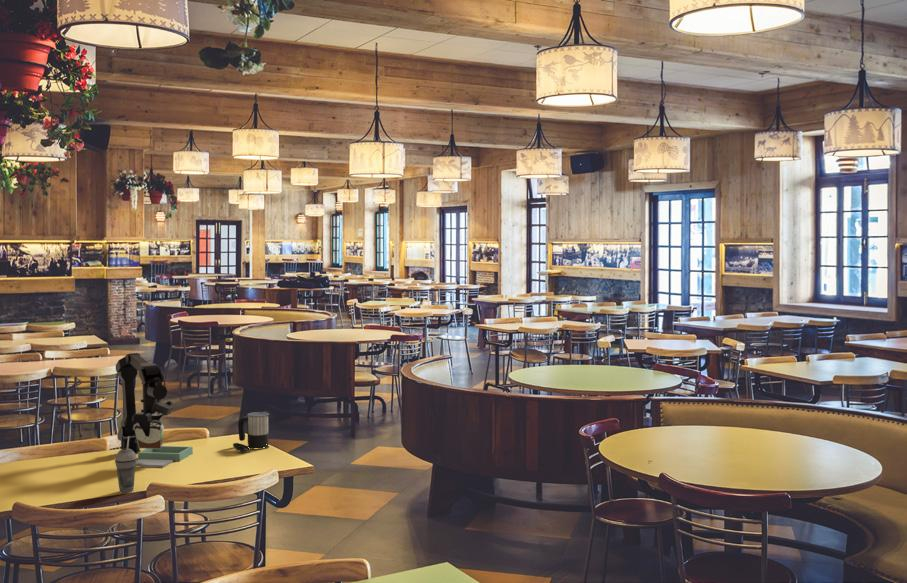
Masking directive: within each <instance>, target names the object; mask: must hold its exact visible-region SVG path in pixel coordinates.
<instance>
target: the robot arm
mask: <svg viewBox="0 0 907 583" xmlns="http://www.w3.org/2000/svg"><path fill="white" fill-rule="evenodd" d="M115 371H116V374H117V375H116V376H117V377H118V378H119V380H120V381H121V385H122V386H121V387H122V388H121V390H122V400H123V415H124V416H123V417H122V419H121V421H120V427H119V429H118V432H117V440H118V441H120V450H121V449H124V448H127V440H128V436H129V445H128V448H129V449H131V450H133V451H134V453H135V454H138V452H140V451H142V450H141V448H139V447H138V442H137V438H136V434H135V430H133V427H134V425H135V424H136V423H139V425H140V427H141V428H142V430H143V432H144V434H145V435H146V437H149V434H150V424H151V422H152V421H153V420H158V421H161V419H162V418H164V417H165V416H168V415H171V413H172V411H173V410H174V403H173V401H171V400H169V401H166V402H163V401H161V400H163V399H165V398H166V397H167V395H168V389H167V387H166V386H165V385H163V383H164V382H165V381H164V379H165V376H164V374H163V372H162V369H161V367H159V365H158V364H157V363H151V362H148V361H147V360H146V359H145V358H143V357H142V356H141V354H140V353H138V352H134V353H133V352H132V353H130V352H129V353H126V354H125V355H124V356H123V357H122V358H120V359H119V360H118V361H117V362H116V364H115ZM137 375H138V377H139V378H140V380H141V386H142V399H140V403H142V409H140V412H137V407H136V394H135V393H136V391H135V379H136V377H137Z"/></svg>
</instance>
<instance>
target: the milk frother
mask: <svg viewBox="0 0 907 583" xmlns="http://www.w3.org/2000/svg"><path fill="white" fill-rule="evenodd" d="M269 415H270V413H269V412H265V411H264V412H263V411H256V412H254V411H253V412H249V413H247V414H246V415H245V416H242V417H240V419H238V422H237V427H238V428H237V429H238V430H237V431H238V439H239V441H240V442H242V441H245V439H246V429H245V428H246V427H245V422H247V445H245V444H243V443H238V442H234V443H233V444H232V446H233V448H234V449H235V450H236V451H239V452H240V453H241V452H242V453H248V452H250V450H251V449H249V448H263V447H265V449H267V447H268V448H270V445H269ZM266 444H267V445H266ZM268 445H269V446H268ZM248 447H249V448H248ZM247 451H248V452H247Z"/></svg>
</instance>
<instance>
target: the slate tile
mask: <svg viewBox="0 0 907 583" xmlns="http://www.w3.org/2000/svg"><path fill="white" fill-rule="evenodd" d="M170 463H171V464H172V463H173V461H172V460H147V459H139V460H138V459H136V465H135V466H141V467H140V468H158V467H164V468H165V467H167V466H169V465H171V464H170ZM168 464H169V465H168ZM166 465H167V466H166Z"/></svg>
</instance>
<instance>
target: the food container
mask: <svg viewBox="0 0 907 583" xmlns="http://www.w3.org/2000/svg"><path fill="white" fill-rule="evenodd" d="M133 430H135V434H136V438H137V442H138V447H139V448H140V449H143V450H145V449H162V446H163V431H164V430H165V426H164V424H163V422H162V420H160V421H158V420H153V421H152V422H151V424H150V434H149V437H146V435H145V434H144V432H143V430H142V428H141V427H140V425H139V423H136V424H135V425H134V427H133Z"/></svg>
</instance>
